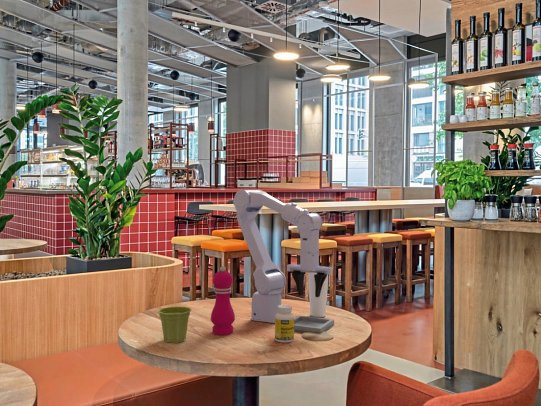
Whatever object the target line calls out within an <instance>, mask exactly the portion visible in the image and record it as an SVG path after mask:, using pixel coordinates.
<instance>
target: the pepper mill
mask: <svg viewBox="0 0 541 406" xmlns="http://www.w3.org/2000/svg"><path fill="white" fill-rule="evenodd" d="M219 270H220V271H217V272H216V273H214V275H213V277H212V283H213V285H214V286H215V287H213V288H214V293H215V301H214V302H215V303H214V306H213V308H212V311H211V313H210V322H211V323H212V324H213V325H212V330H211V332H212V334H214V335H217V336H228V335H232V334H233V333H234V326H233V323H234V322H235V321H236V315H235V311H234V309H233V306H232V304H231V297H230V295H231V292H232V287H231V286H232V284H233V281H234V278H233V275H232V274H231V272H229V271H226V270H227V268H226V266H225V265H222V266H219Z"/></svg>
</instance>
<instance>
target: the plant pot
mask: <svg viewBox="0 0 541 406" xmlns="http://www.w3.org/2000/svg"><path fill="white" fill-rule="evenodd" d="M157 313H158V315H159V318H160V322H161V328H162V336H163V341H164V342H166V343H171V342H172V343H174V344H176V343H181V342H184V341H185V340H186V339H187V333H188V326H189V325H188V323H189V317H190V315H191V313H192V308H191V307H187V306H166V307H162V308H160V309H158V310H157Z"/></svg>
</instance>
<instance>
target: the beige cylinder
mask: <svg viewBox="0 0 541 406" xmlns="http://www.w3.org/2000/svg"><path fill="white" fill-rule="evenodd" d="M315 274H317V273H309V272H307V275H308V276H307V277H308V278H307V286H308V299H309V315H310V317H317V318H323V317H324V318H325V316H326V315H327V303H328V290H329V275H328V274H327V277H326V279H325V281H324V283H323V286H322V289H321V293H320V296H319V297H315V278H314V275H315Z"/></svg>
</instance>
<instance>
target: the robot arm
mask: <svg viewBox="0 0 541 406" xmlns="http://www.w3.org/2000/svg"><path fill="white" fill-rule="evenodd" d="M232 203H233V206H234V208H235V210H236V211H235V212H236V219H237V220H236V221H237V223H238V225H239V228H240V230H241V233H242V236H243V238H244V240H245V243H246V246H247V247H248V250H249V253H250V256H251V257H252V260H253V263H254V265H255V270H254V271H253V274H252V275H253V278H254V286H255V290H257V291H255V292H254V293H253V294H252V298H251V318H250V320H251V321H255V322H256V321H257V322H263V323H270V324H271V323H272V324H275V315H276V314H277V313H279V312H278V306H279V305H282V295H283V294H282V293H283V291H284V290H283V289H284V288H285V287H286V284H287V278H286V275H285V274H284V272H283V271H281V269H280V266H279V265H278V264H276V263H275V262H273V260H272V258H271V256H270V253H269V251H268V249H267V247H266V244H265V242H264V239H263V236H262V235H261V232H260V230H259V227H258V225H257V223H256V220H255V219H256V217H257V216H258V214H259V212H261V210H262V208H263V207H265V208H267V209H270V210H272V211H275V212H276V213H278V214H280V217H281V219H283V221H286V222H288V223H289V224H291V225H293V226H295V227H296V228H297V230H298V232H299V236H300V242H299V243H300V249H299V250H300V252H299V254H300V258H299V259H300V260H299V261H300V262H299V264H287V265H286V272H292V273H291V276H292V277H291V278H292V279H293V280H294V282H295V286H296V289H297V294H298V296H303V295H304V293H305V292H304V291H305V289H304V285H305V284H304V283H305V282H304V281H305V273H308V272H309V273H317V274H315V275H314V278H315V297H319V296H320V293H321V289H322V286H323V283H324V281H325V279H326V277H327V274H328V276H329V275H333V271H334V269H333V267H332V266H331V267H330V266H321V265H320V263H319V262H320V261H319V260H320V258H319V257H320V256H319V255H320V254H319V253H320V230H321V229H322V227H323V219H322V218H323V217H322V216H321V215H320V214H318V213H317V212H311V213H310V212H309V209H306V208H305V209H304V208H302V207H300V206H298V203H296V202H288V203H284V202H282V201H280V200H279V199H277V198H275V197H273V196H272V195H270V194H268V193H267V191H263V190H262V189H239V190H237V191H236V193H235V195H234V198H233V201H232Z"/></svg>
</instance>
